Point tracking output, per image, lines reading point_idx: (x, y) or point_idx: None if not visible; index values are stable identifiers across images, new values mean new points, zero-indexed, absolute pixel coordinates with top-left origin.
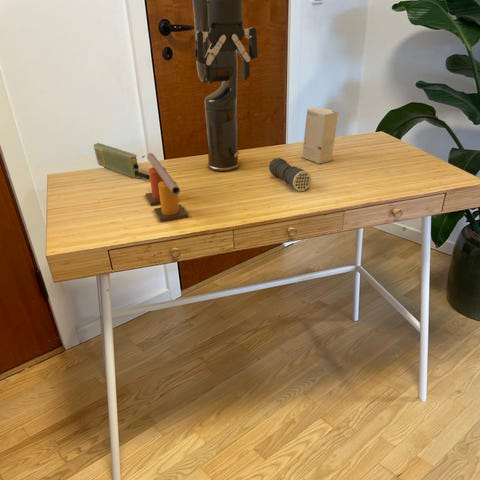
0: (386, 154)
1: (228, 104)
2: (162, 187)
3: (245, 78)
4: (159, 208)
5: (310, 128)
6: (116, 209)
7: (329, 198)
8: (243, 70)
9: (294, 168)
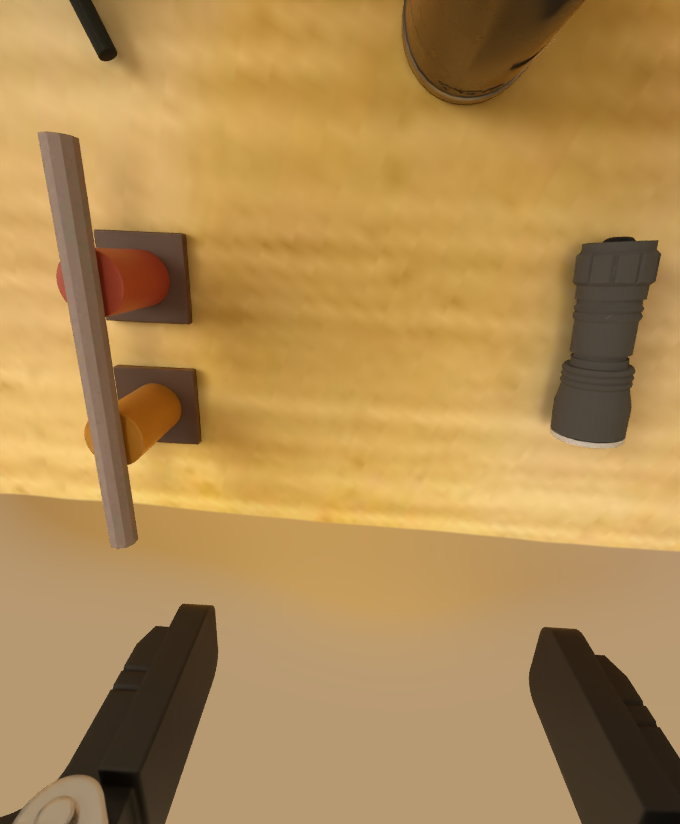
0: None
1: None
2: None
3: (539, 701)
4: (128, 374)
5: None
6: (6, 297)
7: (598, 497)
8: (571, 750)
9: (608, 396)
